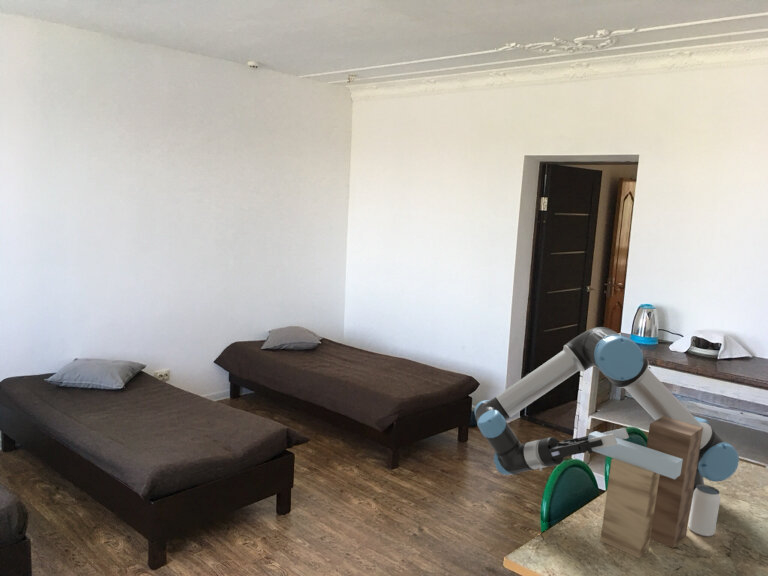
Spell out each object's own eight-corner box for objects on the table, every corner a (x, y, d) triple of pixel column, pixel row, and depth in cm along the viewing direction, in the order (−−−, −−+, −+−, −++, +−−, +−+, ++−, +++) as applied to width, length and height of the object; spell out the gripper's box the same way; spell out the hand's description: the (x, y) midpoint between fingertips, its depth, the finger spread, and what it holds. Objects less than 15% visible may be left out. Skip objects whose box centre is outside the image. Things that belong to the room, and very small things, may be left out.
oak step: (610, 532, 163) (621, 453, 160) (648, 549, 156) (661, 466, 153) (600, 540, 159) (611, 459, 156) (639, 558, 152) (652, 473, 149)
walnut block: (648, 519, 172) (663, 416, 168) (686, 535, 165) (703, 427, 161) (634, 531, 165) (649, 423, 161) (673, 548, 158) (690, 435, 154)
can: (717, 539, 165) (724, 496, 163) (691, 534, 166) (698, 492, 164) (710, 527, 171) (716, 486, 169) (685, 522, 172) (691, 482, 171)
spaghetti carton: (586, 448, 161) (588, 434, 161) (593, 445, 164) (595, 430, 164) (674, 479, 147) (677, 463, 146) (680, 474, 149) (682, 459, 149)
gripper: (565, 457, 178) (641, 441, 163) (531, 475, 164) (610, 460, 149) (556, 432, 180) (630, 414, 165) (521, 447, 166) (598, 429, 151)
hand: (620, 435), depth 157 cm, fingers open, 7 cm apart
